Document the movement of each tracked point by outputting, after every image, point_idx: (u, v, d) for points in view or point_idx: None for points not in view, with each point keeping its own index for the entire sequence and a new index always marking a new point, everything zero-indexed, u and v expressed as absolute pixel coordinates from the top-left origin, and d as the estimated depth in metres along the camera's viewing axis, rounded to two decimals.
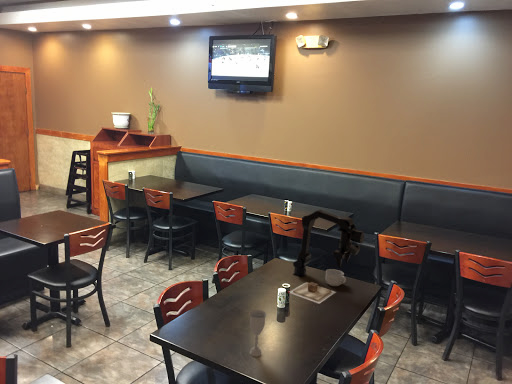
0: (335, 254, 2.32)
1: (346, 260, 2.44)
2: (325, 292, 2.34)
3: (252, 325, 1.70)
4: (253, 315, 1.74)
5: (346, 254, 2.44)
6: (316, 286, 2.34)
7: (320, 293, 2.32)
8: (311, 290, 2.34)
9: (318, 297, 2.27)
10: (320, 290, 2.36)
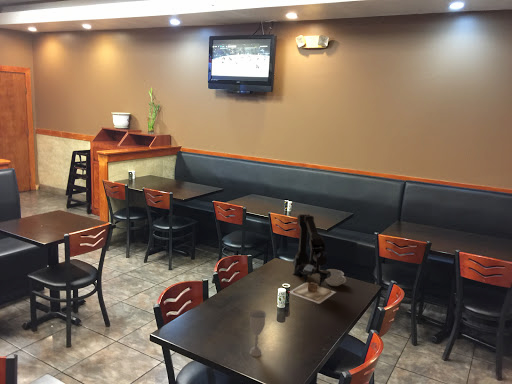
0: None
1: None
2: (325, 292, 2.34)
3: (252, 325, 1.70)
4: (253, 315, 1.74)
5: None
6: (316, 286, 2.34)
7: (320, 293, 2.32)
8: (311, 290, 2.34)
9: (318, 297, 2.27)
10: (320, 290, 2.36)
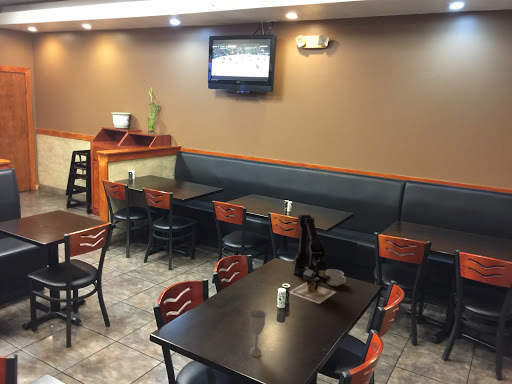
0: None
1: None
2: (325, 292, 2.34)
3: (252, 325, 1.70)
4: (253, 315, 1.74)
5: None
6: None
7: (320, 293, 2.32)
8: (311, 290, 2.34)
9: (318, 297, 2.27)
10: (320, 290, 2.36)
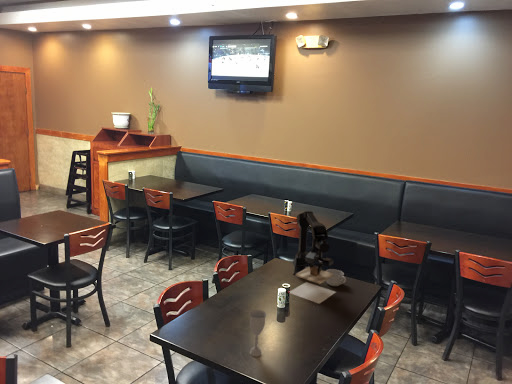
0: None
1: None
2: (327, 275, 2.33)
3: (252, 325, 1.70)
4: (253, 315, 1.74)
5: None
6: None
7: (322, 277, 2.30)
8: (313, 273, 2.32)
9: (320, 280, 2.26)
10: (322, 273, 2.35)
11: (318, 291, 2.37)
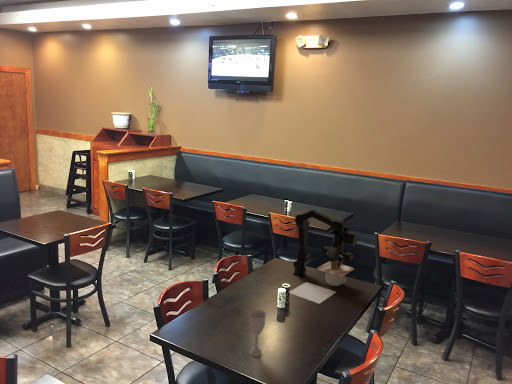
0: None
1: None
2: (348, 269, 2.43)
3: (252, 325, 1.70)
4: (253, 315, 1.74)
5: None
6: None
7: (343, 270, 2.41)
8: (334, 267, 2.43)
9: (341, 273, 2.36)
10: (343, 267, 2.45)
11: (318, 291, 2.37)
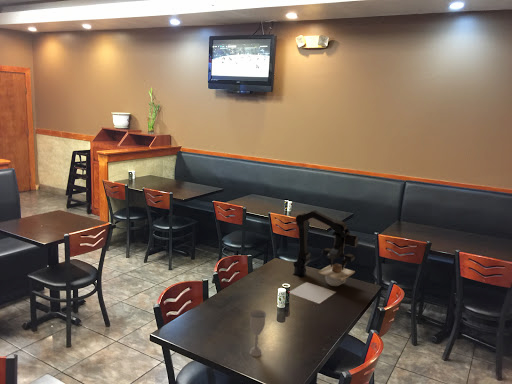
0: None
1: None
2: (349, 273, 2.44)
3: (252, 325, 1.70)
4: (253, 315, 1.74)
5: None
6: (340, 267, 2.45)
7: (344, 274, 2.42)
8: (335, 271, 2.44)
9: (343, 277, 2.38)
10: (344, 271, 2.47)
11: (318, 291, 2.37)
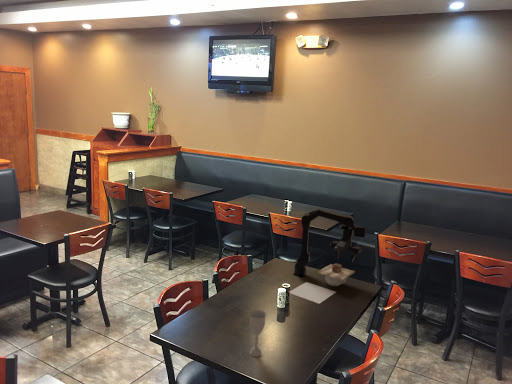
0: None
1: None
2: (349, 272, 2.44)
3: (252, 325, 1.70)
4: (253, 315, 1.74)
5: None
6: (340, 267, 2.45)
7: (344, 274, 2.42)
8: (335, 270, 2.44)
9: (342, 277, 2.38)
10: (343, 271, 2.47)
11: (318, 291, 2.37)
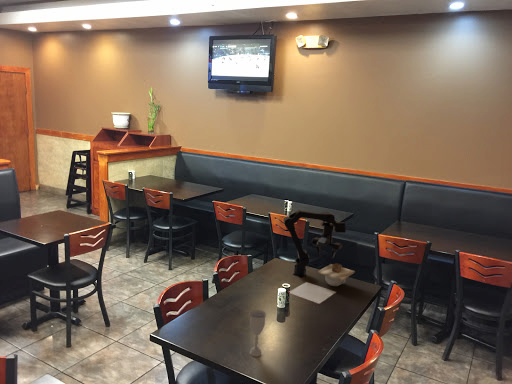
0: None
1: None
2: (349, 272, 2.45)
3: (252, 325, 1.70)
4: (253, 315, 1.74)
5: None
6: (340, 267, 2.45)
7: (344, 274, 2.42)
8: (335, 270, 2.44)
9: (342, 277, 2.38)
10: (343, 271, 2.47)
11: (318, 291, 2.37)
